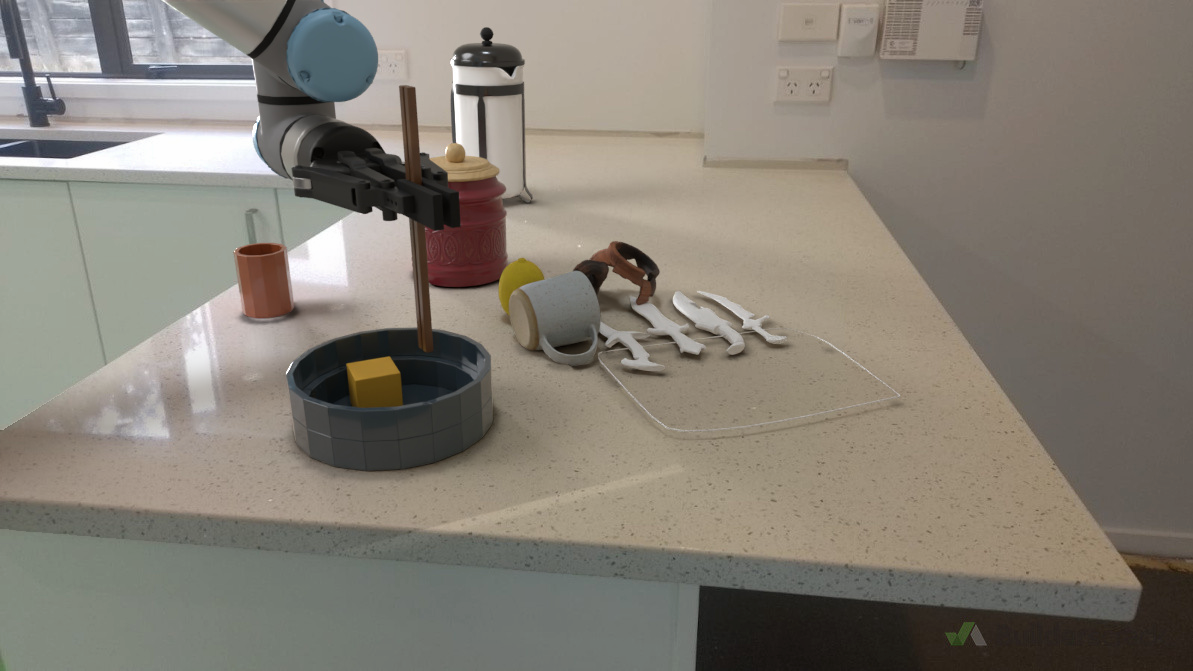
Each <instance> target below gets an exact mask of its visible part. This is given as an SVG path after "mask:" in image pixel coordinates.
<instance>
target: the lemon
mask: <svg viewBox="0 0 1193 671" xmlns="http://www.w3.org/2000/svg"><path fill="white" fill-rule="evenodd" d="M545 279H546V278H545V276H544V273H543V271H542V269H541V268H540V267H539V266H538V265H537V264H536V263H534V262H532V261H530V260H527V259H526V258H525V257H519V258H517V260H514V261H512V262H510V263H508V265H507V267H506V268H505V269H504V271H503V272H502V275H501V277H500V279H499V281H498V289H497V290H498V291H497V292H498V299H499V302H500V306H501V308H502V310H503V311H504V312H505V314H507V316H509V317H510V314H509V300H510V297H511V294H512V293H513V291H514V290H516V289H518V288H520V287H522V286H524V285H526V284H529V283H533V282H537V281H541V280H545Z"/></svg>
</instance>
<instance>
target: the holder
mask: <svg viewBox="0 0 1193 671" xmlns="http://www.w3.org/2000/svg"><path fill="white" fill-rule="evenodd" d="M287 248H288V247H287V246H285V244H283V243H277V242H256V243H248V244H244V245H242V246H239V247H236V248H235V249H234V250H233V252H232V253H233V254H232V255H233V259H234V265H235V272H236V273H235V274H236V278H237V284H238V285H237V286H238V292H239V298H240V303H241V311H242V313H243V315H244V316H246V317H248V318H252V319H270V318H271V319H272V318H277V317H281V316H284V315H287V314H289V313H291V312H292V311H293V310H294V308H295V301H294V292H293V285H292V277H291V270H290V263H289V255H288V254H289V253H288V249H287Z"/></svg>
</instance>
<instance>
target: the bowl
mask: <svg viewBox="0 0 1193 671" xmlns="http://www.w3.org/2000/svg"><path fill="white" fill-rule="evenodd" d="M432 337H433V351H432V352H428V353H426V352H425V351H423V349H421V348H419V344H418V331H417V326H416V327H415V326H414V327H386V328H385V327H383V328H378V329H370V330H363V331H358V332H354V333H349V334H346V335H342V336H339V337H335V338H331V339H329V340H326V341H324V342H322V343H319V344H317V345H315V346H313V347H310V348H308V349H307V350H306V351H304V352H303V353H301V354H300V355H299V356H298V357H296V358H295V359H293V360H292V362H291V364H290V365H289V367H288V369H287V371H286V372H285V381H286V389H287V396H288V402H289V411H290V418H291V425H292V426H291V427H292V431H293V435H294V440H295V444H296V446H297V447H298V448H299V449H301V450H302V452H304V453H305V454H306V455H307V456H308V457H310V458H311V459H313V460H316V461H319V462H321V463H324V464H327V465H329V466H332V467H335V468H341V469H348V470H357V471H362V472H363V471H364V472H371V471H372V472H373V471H396V470H407V469H410V468H416V467H420V466H426V465H430V464H435V463H438V462H439V461H442V460H444V459H447V458H450V457H452V456H455V455H458V454H460V453H462V452H464V451H465V450H467V449H469V448H470V447H472V446H473V445H474V444H476V443H477V442H479V441H480V440H481V439H483V438H484V436H485V435H486V433H487V432H488V430H489V429H490V427H491V426H492V424H494V423H493V422H494V401H493V400H494V398H493V373H492V372H493V371H492V370H493V369H492V355H491V354H490V353H489V351H488V350H487V349H486V347H485V346H484V345H483V343H481V342H479V341H476V340H475V339H473V338H470V337H469V336H467V335H464V334H461V333H456V332H452V331H448V330H446V329H439V328H438V329H437V328H432ZM383 357H390V358H391V359H392V361H393V362H394V364H395V365H396V367H397V368H398V370H399V372H400V374H401V386H402V398H403V406H397V407H373V408H359V407H353V406H352V404H351V402H350V394H349V385H348V375H347V366H346V364H347V363H353V362H359V361H365V360H371V359H377V358H383Z"/></svg>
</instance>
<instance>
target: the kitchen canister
mask: <svg viewBox="0 0 1193 671" xmlns="http://www.w3.org/2000/svg"><path fill="white" fill-rule="evenodd" d="M465 155H466V154H465V150H464V148H463V146H462V145H461V144H458V143H453V142H452V143H449V144H448V145H447V146H446V147H445V151H444V155H442V156H433V157H429V158H430V160H431V161H432V162H434V163H435V164H437V165H438V166H439V167H441V168H442V169H444V170H445V171H446V172H447V173H448V188H450V189H453V190H455V191H458V192H459V203H460V222H461V227H456V228H451V227H448V226H446V225H444V230H438V231H434V230H432V229H430V228H428V227H426V226H425V235H426V249H427V264H428V279H429V285H432V286H438V287H447V288H465V287H474V286H475V287H476V286H481V285H486V284H490V283H494V282H496V281H498V280H500V277H501V275H502V272H503V271H504V269H505V268H506V267H507V266H508V265H509V260H508V259H509V253H508V250H507V220H506V219H507V215H508V211H507V210H506V208H505V207H504V199H502V196H503V194H504V193H505V192H506V186H505V185H504V184H503V183H501V182H500V181H498V179H497V177H496V175H498V174H499V168H497V167H496V166H494V165H492V164H491V163H489V161H488V160H487V159H484V158H481V157H475V156H465ZM411 268H413V265H412V264H411Z"/></svg>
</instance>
